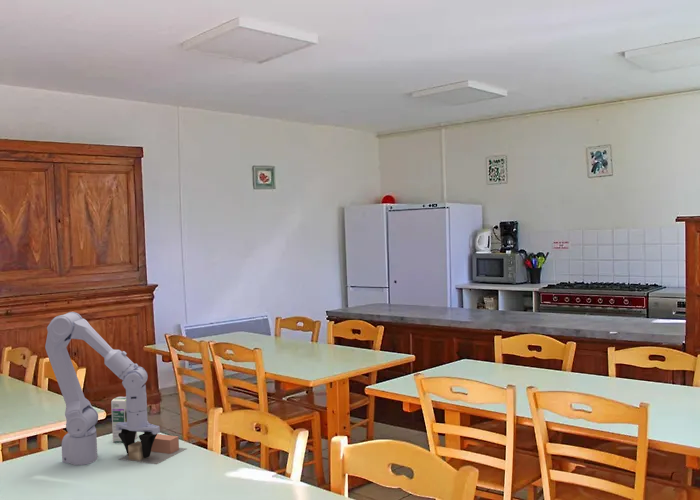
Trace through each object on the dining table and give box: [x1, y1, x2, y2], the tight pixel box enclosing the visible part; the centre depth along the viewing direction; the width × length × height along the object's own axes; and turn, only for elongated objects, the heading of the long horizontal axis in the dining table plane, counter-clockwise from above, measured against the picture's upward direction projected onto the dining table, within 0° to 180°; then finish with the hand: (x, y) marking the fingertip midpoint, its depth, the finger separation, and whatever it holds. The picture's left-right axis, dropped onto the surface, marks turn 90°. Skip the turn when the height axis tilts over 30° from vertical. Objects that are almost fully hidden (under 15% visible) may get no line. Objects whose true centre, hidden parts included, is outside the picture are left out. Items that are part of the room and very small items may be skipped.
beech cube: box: [128, 440, 144, 460], centre depth 193 cm, size 4×4×4 cm
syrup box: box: [110, 396, 138, 444], centre depth 210 cm, size 6×6×14 cm
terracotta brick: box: [151, 433, 180, 454], centre depth 198 cm, size 8×4×4 cm, turn 67°
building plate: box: [119, 447, 187, 465], centre depth 196 cm, size 14×14×1 cm
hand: (138, 456), depth 193 cm, fingers open, 5 cm apart
